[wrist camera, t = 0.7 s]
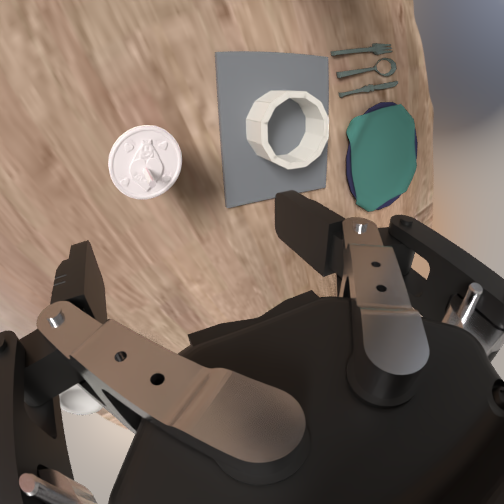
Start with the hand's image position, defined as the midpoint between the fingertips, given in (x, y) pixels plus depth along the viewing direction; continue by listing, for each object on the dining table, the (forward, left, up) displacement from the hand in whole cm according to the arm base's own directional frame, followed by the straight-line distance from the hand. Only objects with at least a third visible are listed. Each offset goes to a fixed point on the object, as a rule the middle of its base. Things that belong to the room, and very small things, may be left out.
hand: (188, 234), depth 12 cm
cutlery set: (+1, +38, -24) cm, 45 cm away
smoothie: (0, 0, -24) cm, 24 cm away
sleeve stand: (0, +18, -24) cm, 30 cm away
